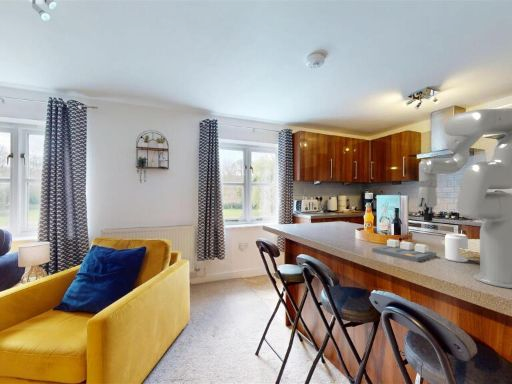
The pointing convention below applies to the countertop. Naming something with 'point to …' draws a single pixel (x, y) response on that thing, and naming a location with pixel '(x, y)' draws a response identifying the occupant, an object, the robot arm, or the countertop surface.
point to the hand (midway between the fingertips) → (428, 220)
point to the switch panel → (404, 253)
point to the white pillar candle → (455, 246)
